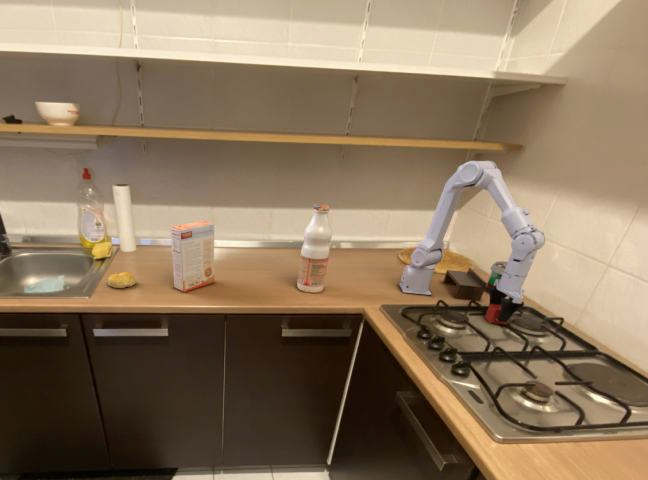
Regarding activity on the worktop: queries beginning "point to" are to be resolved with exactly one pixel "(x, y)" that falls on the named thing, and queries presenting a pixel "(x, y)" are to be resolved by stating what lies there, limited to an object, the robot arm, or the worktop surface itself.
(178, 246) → the cracker box
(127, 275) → the bread roll
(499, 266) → the food container
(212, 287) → the worktop surface
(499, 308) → the block
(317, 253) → the fruit juice
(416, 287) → the robot arm
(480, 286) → the dark brown storage bin
